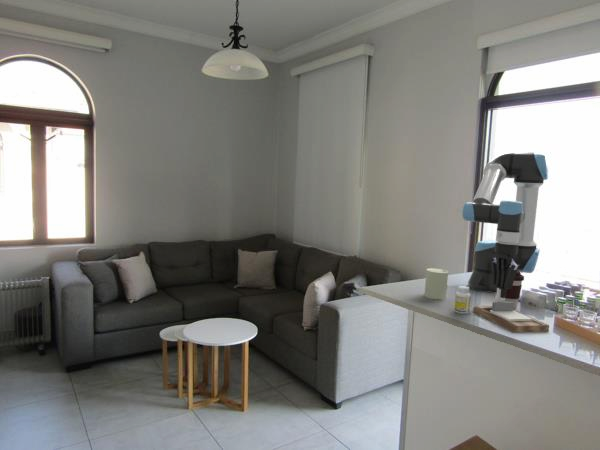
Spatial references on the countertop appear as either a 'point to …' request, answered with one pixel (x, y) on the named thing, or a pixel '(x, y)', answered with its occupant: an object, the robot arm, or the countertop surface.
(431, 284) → the can
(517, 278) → the coffee cup
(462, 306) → the supplement bottle
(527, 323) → the board
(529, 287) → the countertop surface
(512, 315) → the lid
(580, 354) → the countertop surface
